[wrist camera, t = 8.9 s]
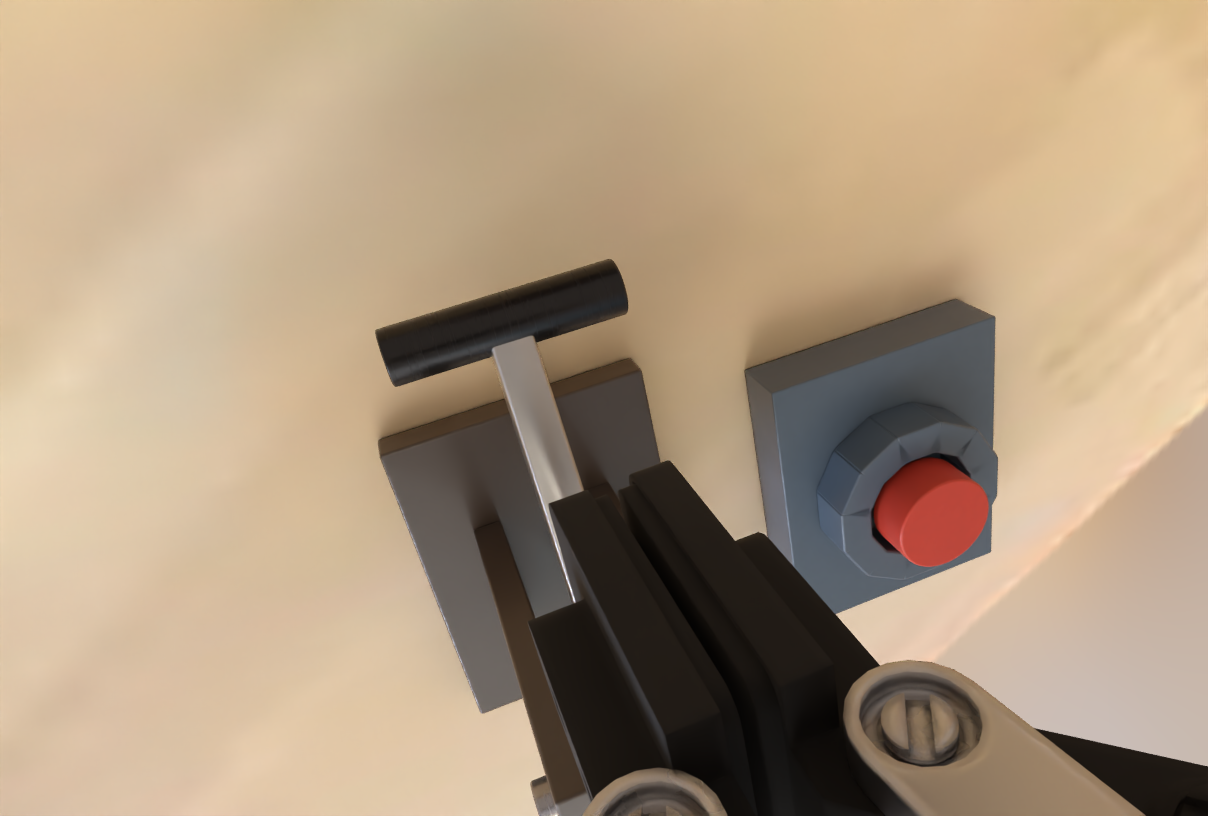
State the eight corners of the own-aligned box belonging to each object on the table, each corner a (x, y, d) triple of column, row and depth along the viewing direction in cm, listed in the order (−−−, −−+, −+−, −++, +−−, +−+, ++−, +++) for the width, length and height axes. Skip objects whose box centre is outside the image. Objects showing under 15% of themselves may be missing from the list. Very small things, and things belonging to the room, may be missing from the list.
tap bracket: (376, 439, 28) (415, 722, 17) (630, 356, 29) (819, 567, 18) (476, 693, 34) (554, 1030, 23) (684, 613, 35) (853, 891, 24)
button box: (743, 369, 31) (797, 415, 28) (956, 298, 33) (1032, 332, 29) (775, 595, 36) (824, 658, 33) (957, 524, 38) (1022, 577, 34)
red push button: (869, 475, 30) (899, 500, 29) (957, 443, 31) (990, 465, 29) (875, 553, 32) (902, 581, 30) (957, 521, 32) (989, 547, 31)
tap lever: (377, 332, 21) (370, 327, 19) (600, 264, 22) (619, 252, 20) (549, 833, 23) (562, 887, 21) (751, 749, 24) (785, 791, 22)
